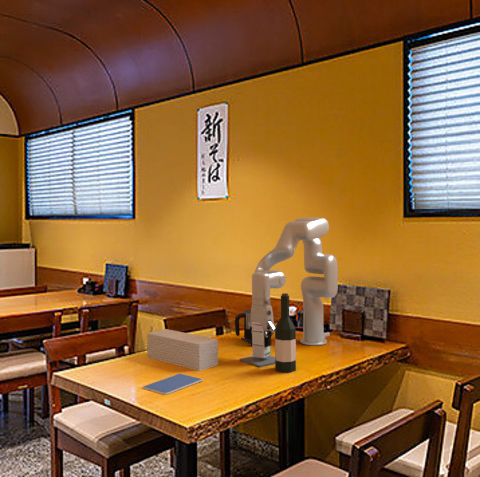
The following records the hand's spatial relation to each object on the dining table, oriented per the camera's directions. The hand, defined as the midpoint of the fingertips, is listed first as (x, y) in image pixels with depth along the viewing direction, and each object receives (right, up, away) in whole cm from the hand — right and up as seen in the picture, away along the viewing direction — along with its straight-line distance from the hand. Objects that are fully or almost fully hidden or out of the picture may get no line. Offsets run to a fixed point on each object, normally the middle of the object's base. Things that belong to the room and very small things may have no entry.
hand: (261, 344), depth 216 cm
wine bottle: (+9, -8, -12) cm, 17 cm away
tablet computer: (-33, -9, -29) cm, 45 cm away
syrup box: (0, -5, 0) cm, 5 cm away
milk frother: (-3, -6, +33) cm, 34 cm away
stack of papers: (-33, -8, +2) cm, 34 cm away
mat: (0, -7, 0) cm, 7 cm away
